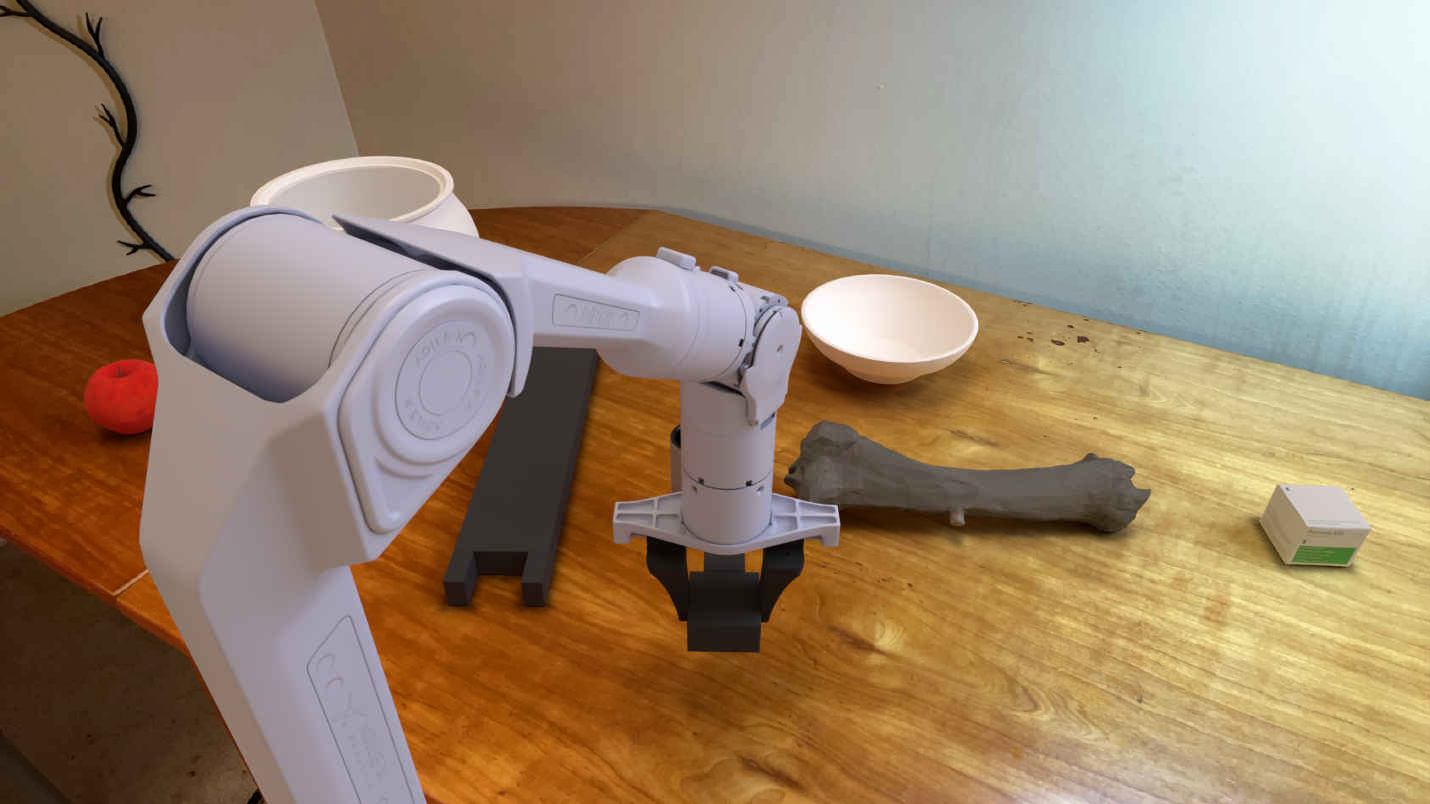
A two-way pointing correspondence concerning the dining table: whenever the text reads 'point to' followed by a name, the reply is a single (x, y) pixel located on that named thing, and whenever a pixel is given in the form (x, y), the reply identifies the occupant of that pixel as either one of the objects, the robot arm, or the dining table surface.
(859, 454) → the bone
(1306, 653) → the dining table surface
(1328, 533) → the small box
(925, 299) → the bowl
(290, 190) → the pot
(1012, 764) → the dining table surface
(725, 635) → the pad
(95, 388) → the apple
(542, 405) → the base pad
